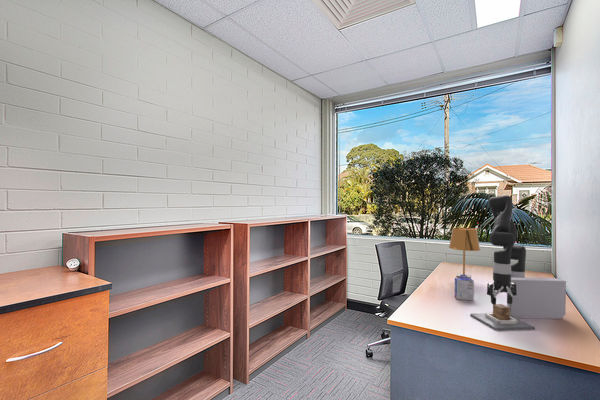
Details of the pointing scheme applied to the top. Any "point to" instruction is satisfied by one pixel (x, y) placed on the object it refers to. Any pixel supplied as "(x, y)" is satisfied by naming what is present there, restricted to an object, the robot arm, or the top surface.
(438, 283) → the top surface
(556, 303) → the game console
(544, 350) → the top surface
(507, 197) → the robot arm
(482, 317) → the baseplate
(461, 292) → the ink cartridge box
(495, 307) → the walnut block
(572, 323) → the top surface
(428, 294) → the top surface
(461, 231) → the lamp
